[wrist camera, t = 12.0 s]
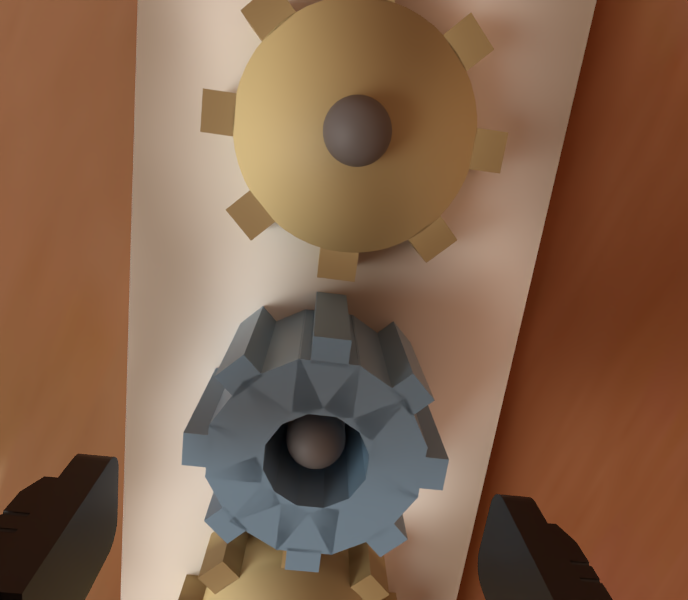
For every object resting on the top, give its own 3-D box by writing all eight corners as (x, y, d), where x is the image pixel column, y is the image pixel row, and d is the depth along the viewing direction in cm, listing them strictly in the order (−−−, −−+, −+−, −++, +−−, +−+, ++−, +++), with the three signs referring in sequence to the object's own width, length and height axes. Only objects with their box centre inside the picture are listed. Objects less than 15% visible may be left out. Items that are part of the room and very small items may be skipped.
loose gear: (207, 471, 18) (175, 560, 14) (222, 280, 16) (189, 322, 12) (403, 490, 18) (423, 581, 15) (438, 306, 17) (471, 354, 13)
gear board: (131, 653, 22) (75, 799, 17) (159, -84, 15) (77, -195, 10) (423, 675, 23) (450, 821, 18) (578, -16, 16) (692, -88, 11)
